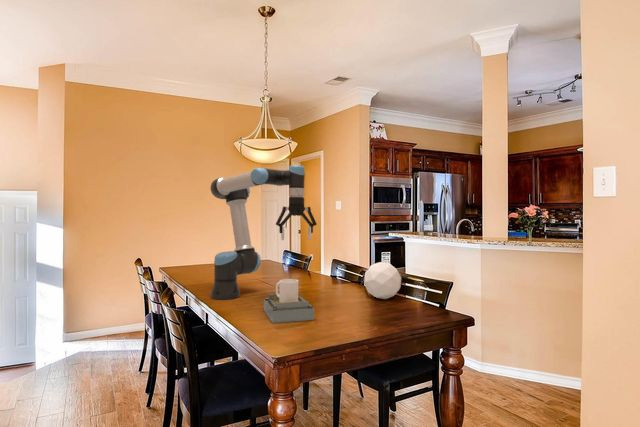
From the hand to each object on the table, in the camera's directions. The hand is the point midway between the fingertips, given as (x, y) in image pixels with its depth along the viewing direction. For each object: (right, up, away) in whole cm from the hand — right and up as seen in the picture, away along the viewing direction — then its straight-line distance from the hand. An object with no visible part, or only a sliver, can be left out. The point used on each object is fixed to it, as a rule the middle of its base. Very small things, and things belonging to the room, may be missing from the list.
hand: (296, 239), depth 194 cm
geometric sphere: (+45, -32, +16) cm, 58 cm away
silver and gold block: (-3, -32, -19) cm, 37 cm away
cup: (-4, -27, -19) cm, 33 cm away
